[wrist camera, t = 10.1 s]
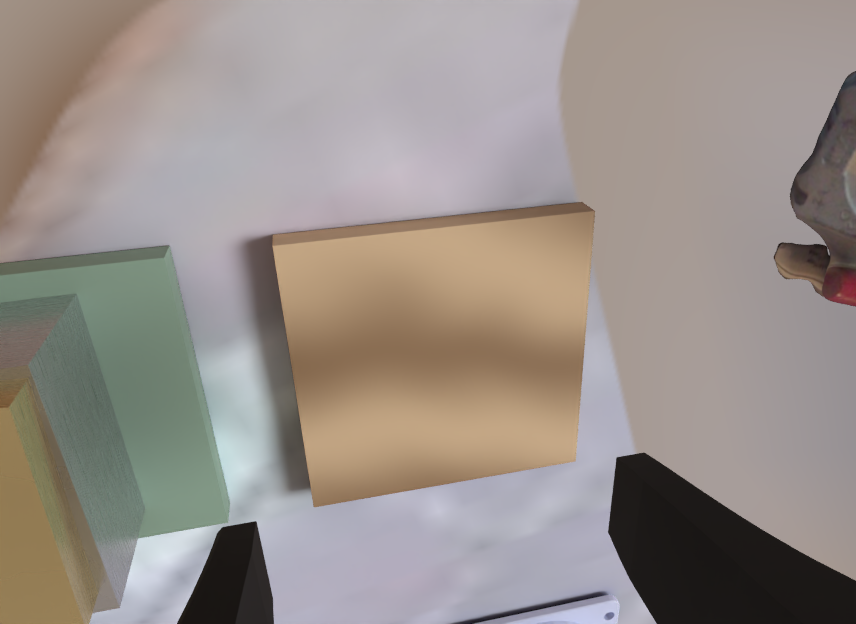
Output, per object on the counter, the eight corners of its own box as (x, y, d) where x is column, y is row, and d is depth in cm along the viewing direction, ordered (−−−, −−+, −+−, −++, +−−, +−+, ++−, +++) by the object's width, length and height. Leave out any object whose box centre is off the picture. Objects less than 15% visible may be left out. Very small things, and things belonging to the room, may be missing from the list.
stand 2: (565, 445, 26) (575, 461, 25) (312, 488, 24) (313, 507, 23) (581, 202, 21) (594, 210, 20) (272, 234, 20) (272, 246, 19)
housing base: (76, 293, 18) (27, 364, 15) (145, 508, 22) (119, 607, 18) (-122, 316, 17) (-225, 398, 14) (-17, 536, 21) (-77, 646, 17)
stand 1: (229, 502, 23) (227, 522, 23) (-73, 554, 22) (-88, 577, 21) (169, 245, 19) (163, 257, 18) (-217, 286, 17) (-243, 301, 16)
